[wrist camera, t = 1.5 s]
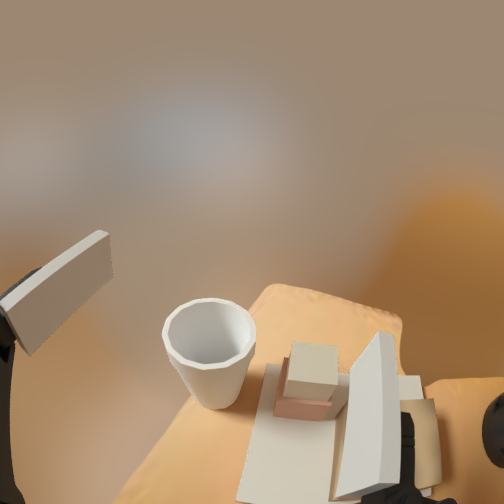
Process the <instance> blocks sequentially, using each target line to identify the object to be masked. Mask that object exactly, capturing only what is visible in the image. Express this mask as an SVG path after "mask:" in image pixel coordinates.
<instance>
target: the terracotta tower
mask: <svg viewBox="0 0 504 504" xmlns="http://www.w3.org/2000/svg"><path fill="white" fill-rule="evenodd" d="M337 385H338V347H337V346H327V345H319V344H311V343H303V342H296V341H293V344H292V348H291V351H290V355H289V358H285V357H284V360H283V364H282V368H281V372H280V376H279V381H278V387H277V393H276V399H275V405H274V410H273V416H274V417H281V418H289V419H298V420H307V421H319V422H320V421H321V420H322V418H323V417H324V416H325V414H326V413H327V411H328V410H329V409H330V407H331V403H332V393H333V392H334V390H335V389H336V387H337Z"/></svg>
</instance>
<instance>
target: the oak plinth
mask: <svg viewBox="0 0 504 504" xmlns="http://www.w3.org/2000/svg"><path fill="white" fill-rule="evenodd" d="M348 401H349V399H348ZM348 401H347V402H346V403H345V405H344V406H343V407H342V408H341V410H340V411H339V412H338V414H337V415H336V419H335V438H334V452H333V463H332V474H331V483H330V491H329V499H328V502H330V501H356V500H361V497H362V496H361V497H358V498H354V499H346V498H335V494H336V489H337V484H338V479H339V473H340V467H341V461H342V454H343V447H344V440H345V431H346V422H347V412H348ZM400 411H401V412H408V413H410V414H411V417H412V419H413V422H414V427H415V437H414V439H415V446H414V448H415V487H416V488H418V489H419V490H420V491H422V490H425V489H428V488H430V487H433V486H436V485H438V484H441V483H442V464H441V450H440V440H439V431H438V423H437V416H436V410H435V404H434V398H432V399H415V400H400Z"/></svg>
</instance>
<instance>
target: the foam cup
mask: <svg viewBox="0 0 504 504" xmlns="http://www.w3.org/2000/svg"><path fill="white" fill-rule="evenodd" d="M162 337H163V340H164V343H165V347H166V350H167V353H168V357H169V360H170V363H171V364H172V365H173V366H174V367H175V368H176V370H177V371H178V373H179V374H180V376H181V378H182V379H183V381H184V383H185V384H186V386H187V388H188V389H189V391H190V392H191V394H192V395H193V397H194V399H195V400H196V401H197V402H198V403H199V404H201V405H202V406H203V407H205V408H209V409H212V410H218V409H225V408H227V407H228V406H230V405H232V404H233V403H234V402H235V400H236V399H237V397H238V396H239V393H240V390H241V387H242V384H243V382H244V379H245V376H246V373H247V370H248V367H249V364H250V361H251V359H252V358H253V356H254V354H255V345H256V324H255V322H254V321H253V319H252V318H251V316H250V315H249V313H248V311H247V310H245V309H243V308H242V307H240V306H239V305H237V304H235V303H234V302H232V301H227V300H222V299H218V298H205V299H195V300H193V301H190V302H188V303H186V304H183V305H181V306H179V307H178V308H176V310H174V311H173V313H172V314H171V315H169V316H168V317H167V319H166V321H165V325H164V328H163V331H162Z"/></svg>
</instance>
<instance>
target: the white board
mask: <svg viewBox="0 0 504 504" xmlns="http://www.w3.org/2000/svg"><path fill="white" fill-rule="evenodd" d="M281 368H282V366H279V365H272V364H267V365H266V370H265V375H264V380H263V385H262V389H261V394H260V399H259V404H258V408H257V413H256V417H255V422H254V426H253V431H252V435H251V439H250V444H249V448H248V452H247V456H246V460H245V464H244V469H243V473H242V477H241V481H240V484H239V488H238V492H237V496H236V500H235V501H238V502H243V503H249V504H354V503H358V502H361V500H356V501H330V502H328V499H329V491H330V483H331V474H332V463H333V452H334V438H335V419H336V415H337V414H338V412H339V411H340V410H341V408H342V407H343V406H344V405H345V403H346V402H347V401H348V399H349V387H350V373H338V385H337V387H336V389H335V390H334V392H333V393H332V403H331V407H330V409H329V410H328V411H327V413H326V414H325V416H324V417H323V418H322V420H321V421H320V422H319V421H307V420H298V419H289V418H281V417H274V416H273V410H274V405H275V399H276V393H277V387H278V381H279V376H280V372H281ZM398 381H399V395H400V400H415V399H424V398H423V392H422V386H421V381H420V376H398ZM420 492H421V493H422V496H423V497H427V496H430V495H431V487H430V488H428V489H425V490H422V491H420Z"/></svg>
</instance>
